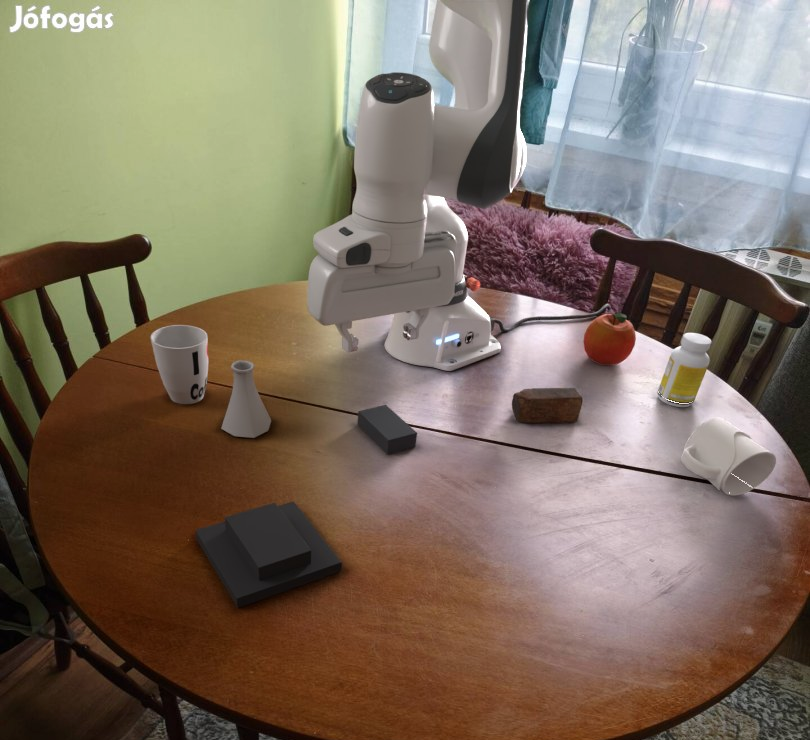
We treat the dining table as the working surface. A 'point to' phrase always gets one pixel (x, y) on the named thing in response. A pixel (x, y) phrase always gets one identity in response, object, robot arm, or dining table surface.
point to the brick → (547, 405)
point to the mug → (727, 457)
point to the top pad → (387, 429)
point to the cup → (182, 361)
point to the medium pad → (267, 541)
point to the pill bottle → (685, 370)
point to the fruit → (609, 339)
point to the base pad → (242, 577)
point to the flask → (245, 405)
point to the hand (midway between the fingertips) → (380, 344)
